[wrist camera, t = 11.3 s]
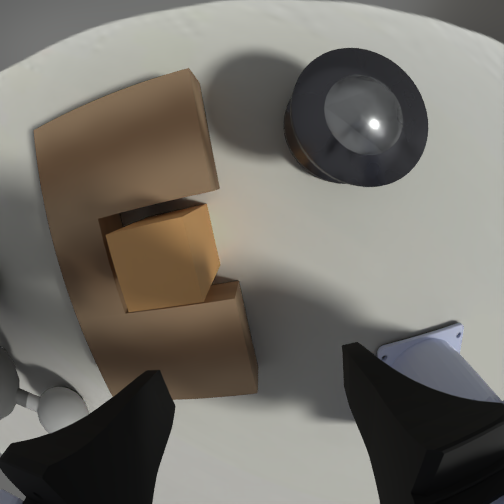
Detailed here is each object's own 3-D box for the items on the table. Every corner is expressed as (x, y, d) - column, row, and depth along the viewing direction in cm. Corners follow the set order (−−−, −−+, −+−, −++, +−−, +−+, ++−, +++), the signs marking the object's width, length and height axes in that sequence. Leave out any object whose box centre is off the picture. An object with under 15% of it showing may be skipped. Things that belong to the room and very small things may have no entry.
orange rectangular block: (220, 264, 20) (203, 301, 14) (163, 274, 20) (128, 312, 14) (206, 203, 19) (182, 216, 13) (148, 216, 19) (105, 234, 13)
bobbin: (398, 176, 18) (437, 178, 13) (295, 191, 18) (307, 197, 14) (377, 74, 16) (409, 49, 11) (273, 83, 17) (277, 53, 12)
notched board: (258, 367, 22) (257, 393, 19) (127, 377, 22) (114, 399, 20) (199, 83, 17) (189, 68, 14) (58, 133, 18) (33, 130, 15)
